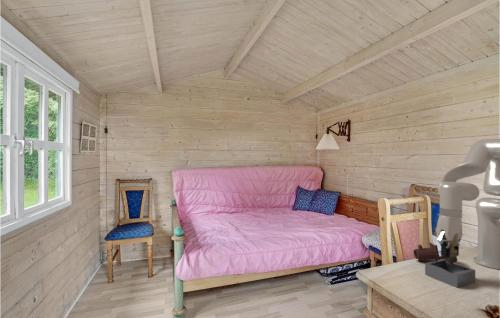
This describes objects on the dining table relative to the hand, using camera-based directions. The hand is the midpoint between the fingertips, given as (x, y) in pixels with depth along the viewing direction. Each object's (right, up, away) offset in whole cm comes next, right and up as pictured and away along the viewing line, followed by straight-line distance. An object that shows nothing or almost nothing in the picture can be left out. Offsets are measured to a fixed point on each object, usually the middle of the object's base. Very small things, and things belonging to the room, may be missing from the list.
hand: (449, 255), depth 110 cm
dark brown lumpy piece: (+6, -10, +16) cm, 20 cm away
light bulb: (0, -5, 0) cm, 5 cm away
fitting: (0, -10, 0) cm, 10 cm away
